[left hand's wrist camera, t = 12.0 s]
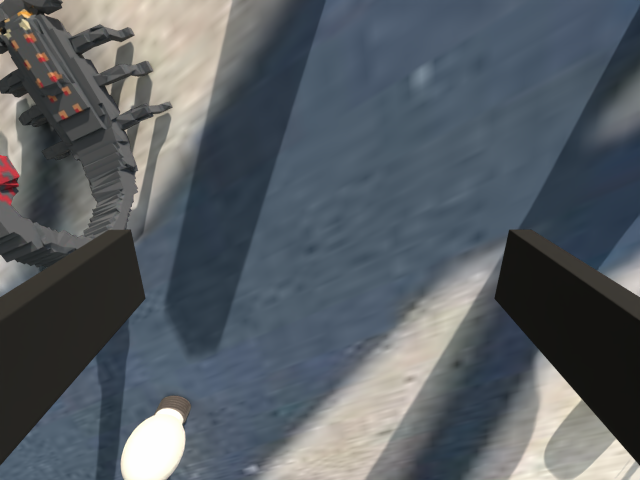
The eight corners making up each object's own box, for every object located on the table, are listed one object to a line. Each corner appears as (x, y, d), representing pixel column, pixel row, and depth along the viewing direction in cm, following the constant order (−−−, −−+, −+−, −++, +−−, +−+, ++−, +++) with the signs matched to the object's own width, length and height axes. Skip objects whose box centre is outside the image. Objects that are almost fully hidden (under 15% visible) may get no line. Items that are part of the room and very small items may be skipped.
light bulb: (199, 389, 48) (167, 467, 38) (199, 425, 51) (169, 507, 40) (149, 384, 48) (103, 462, 38) (152, 420, 50) (109, 502, 40)
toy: (110, 234, 40) (-46, 337, 23) (-69, -34, 30) (-563, -201, 13) (216, 190, 38) (131, 266, 21) (58, -109, 29) (-327, -415, 12)
